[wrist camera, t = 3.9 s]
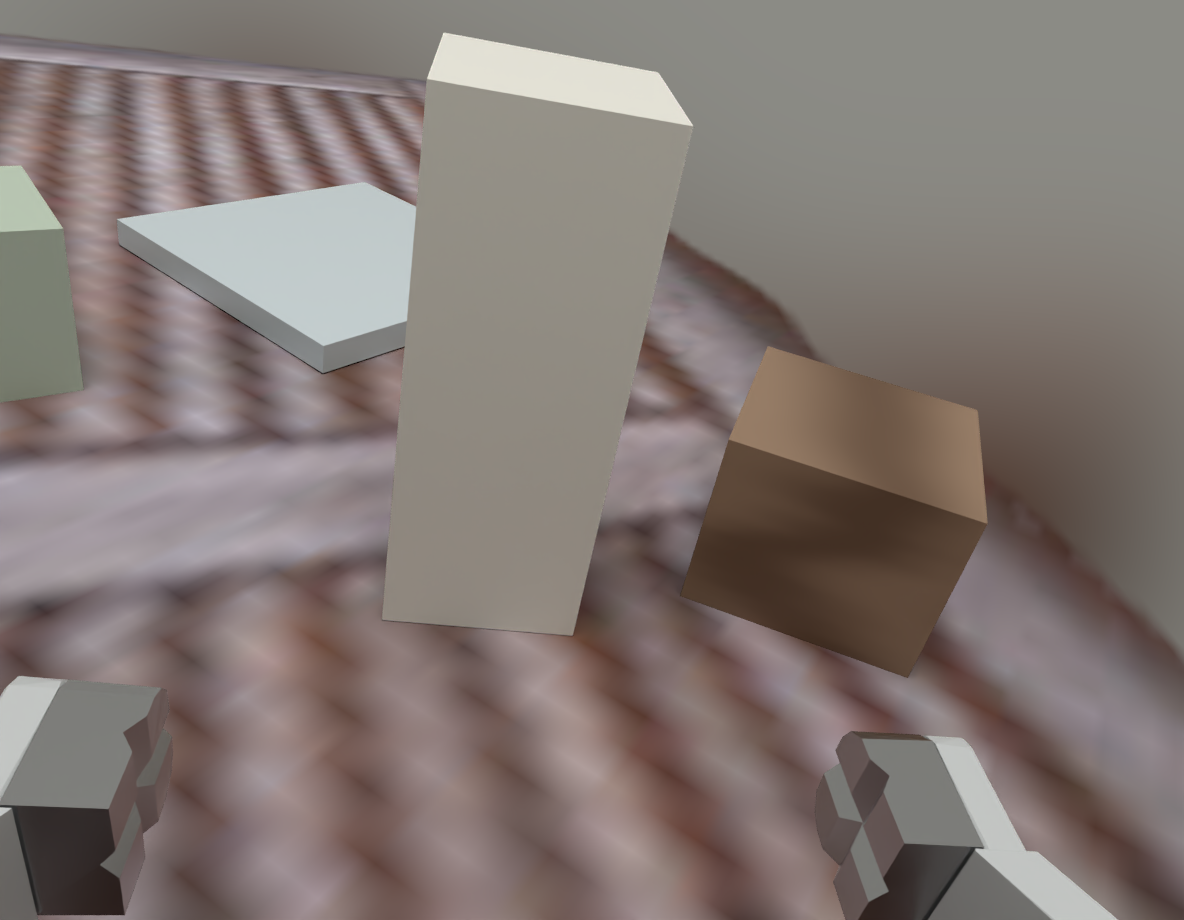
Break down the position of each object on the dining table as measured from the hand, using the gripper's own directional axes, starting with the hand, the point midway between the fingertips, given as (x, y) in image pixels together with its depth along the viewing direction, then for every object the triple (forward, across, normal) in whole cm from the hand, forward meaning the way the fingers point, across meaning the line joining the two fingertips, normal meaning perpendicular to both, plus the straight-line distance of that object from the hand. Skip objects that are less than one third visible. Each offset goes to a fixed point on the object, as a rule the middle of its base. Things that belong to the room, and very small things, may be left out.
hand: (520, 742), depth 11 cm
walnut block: (+12, -9, +7) cm, 17 cm away
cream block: (+11, 0, +6) cm, 13 cm away
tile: (+28, +6, +6) cm, 30 cm away
